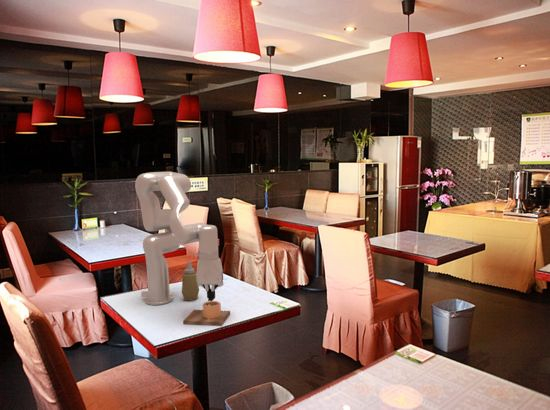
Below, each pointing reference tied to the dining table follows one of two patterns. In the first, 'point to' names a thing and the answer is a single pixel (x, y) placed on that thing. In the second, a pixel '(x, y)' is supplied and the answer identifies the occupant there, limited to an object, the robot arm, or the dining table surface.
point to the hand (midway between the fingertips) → (211, 299)
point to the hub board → (198, 318)
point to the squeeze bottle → (190, 283)
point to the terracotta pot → (211, 309)
